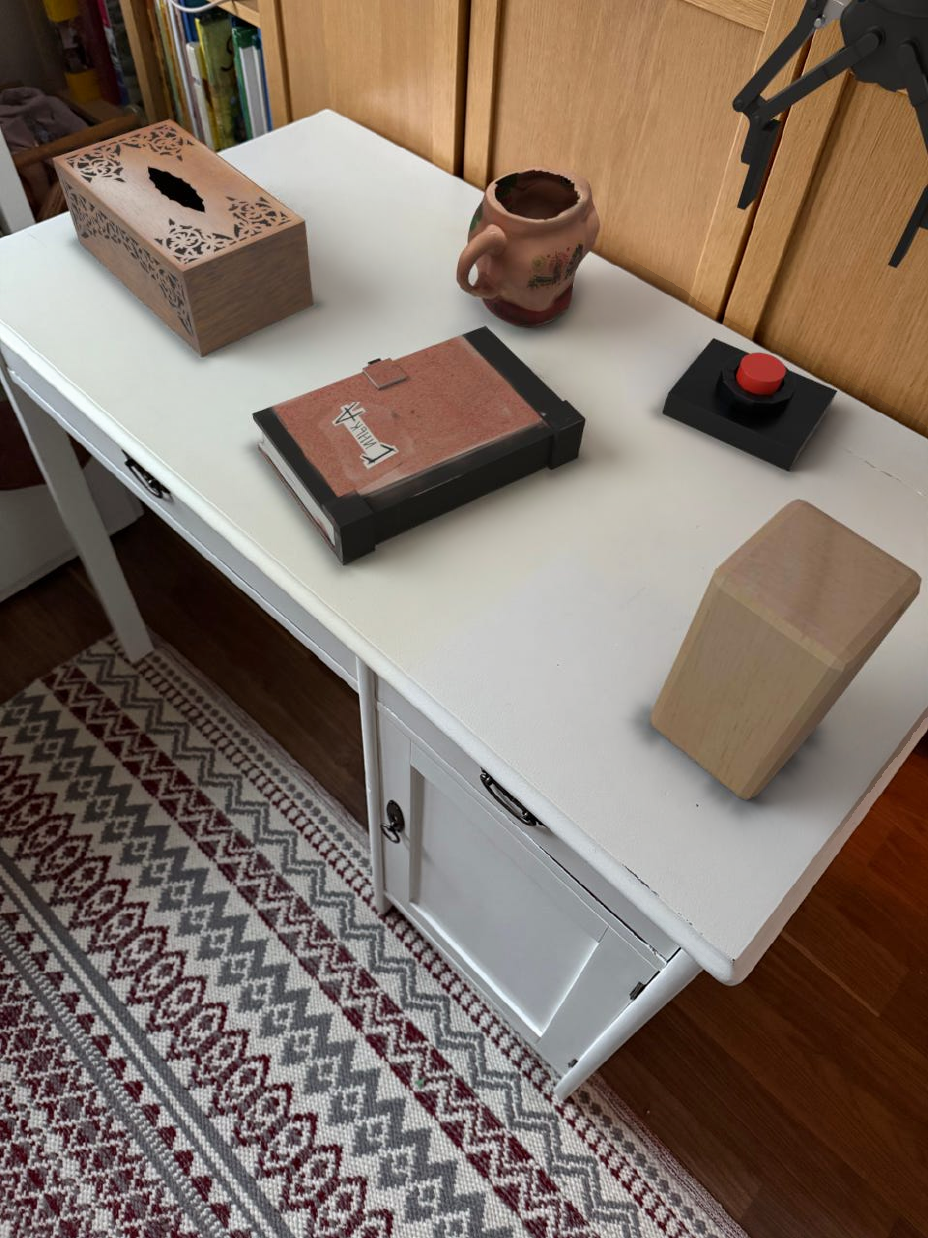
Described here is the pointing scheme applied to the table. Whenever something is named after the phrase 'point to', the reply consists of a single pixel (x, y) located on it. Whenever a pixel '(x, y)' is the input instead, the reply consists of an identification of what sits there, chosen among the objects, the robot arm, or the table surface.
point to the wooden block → (778, 644)
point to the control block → (748, 406)
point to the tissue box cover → (188, 233)
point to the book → (415, 439)
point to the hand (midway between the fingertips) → (819, 230)
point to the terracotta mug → (529, 243)
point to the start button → (760, 373)
